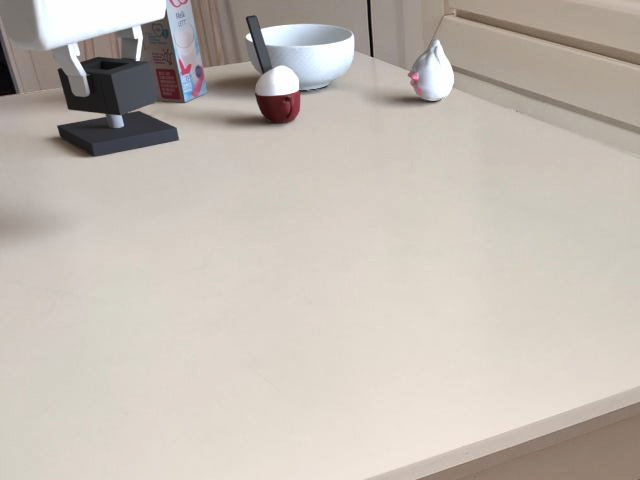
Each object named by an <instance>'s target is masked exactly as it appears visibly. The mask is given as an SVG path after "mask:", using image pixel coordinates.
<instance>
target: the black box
mask: <svg viewBox="0 0 640 480" xmlns="http://www.w3.org/2000/svg"><path fill="white" fill-rule="evenodd" d="M79 62H80V64H81V66H82V68H83V69H84V71H85V73H88V74H92V78H93V82H94V86H95V93H94V94H91V95H89V96H86V97H81V96H75V95H74V94H73V92H72V90H71V86H70V83H69V79H68V75H66V74H65V72H64V71H63V69H62V68H61V67H58V68H57V73H58V77H59V81H60V84H61V88H62V92H63V95H64V99H65V103H66V107H67V110H69V111H77V112H85V113H94V114H102V115H106V114H111V115H120V116H121V115H123V114H126V113H130V112H135V111H137V110H140V109H141V108H144V107H146V106H147V107H148V106H149V105H152V104H154V103H158V102H159V101H158V100H157V95H156V90H155V85H154V81H153V76H152V71H151V66H150V62H146V61H137V60H126V59H121V58H116V57H103V56H97V57H93V58H89V59H85V60H83V61H79Z"/></svg>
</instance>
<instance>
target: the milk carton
mask: <svg viewBox="0 0 640 480" xmlns="http://www.w3.org/2000/svg"><path fill="white" fill-rule="evenodd" d="M140 26H141V31H142V36H143V40H142V48H141V55H140V58H139V59H140V61H146V62H150V66H151V71H152V76H153V81H154V85H155V90H156V95H157V100H158V101H157V102H171V103H184V104H186V103H187V102H190V101H193V100H195V99H197V98H199V97H201V96H203V95H206V94H208V88H207V82H206V77H205V76H206V75H205V71H204V66H203V59H202V56H201V50H200V45H199V39H198V34H197V29H196V23H195V17H194V13H193V7H192V1H191V0H166V11H165V16H164V18H163V19H160V20H156V21H153V22H149V23H145V24H142V25H140Z"/></svg>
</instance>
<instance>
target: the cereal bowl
mask: <svg viewBox="0 0 640 480" xmlns="http://www.w3.org/2000/svg"><path fill="white" fill-rule="evenodd" d="M261 32H262V35H263V38H264V42H265V45H266V48H267V52H268V55H269V58H270V62H271V65H272V68H275V67H277V66H286V67H287V68H289V69H291V70H292V71H293V72H294V74H295V75H296V76H297V77H298V82H299V89H301V90H306V89H316V88H320V87H324V86H326V85H328V84H329V85H331V83H332V82H333V81H335V80H337V79H339V78H340V77H342V76H343V75H345V74H346V73H347V71H349V69H350V67H351V66H352V63H353V60H354V56H355V35H354V33H353V31H352V30H350V29H347V28H345V27H341V26H338V25H330V24H322V23H321V24H319V23H297V24H296V23H293V24H282V25H274V26H273V25H272V26H268V27H263V28H261ZM244 41H245V48H246V51H247V56H248V59H249V60H250V63H251V65H252V66H253V68H254V69H255V71H256V72H257V73H258V74H259V75H261V76H262V75H263V74H262V70H261V67H260V64H259V61H258V57H257V54H256V51H255V48H254V44H253V41H252V38H251V35H250V32H249V33H247V34H246V35H245V37H244ZM329 85H328V86H329ZM316 90H317V89H316Z"/></svg>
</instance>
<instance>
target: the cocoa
mask: <svg viewBox="0 0 640 480" xmlns="http://www.w3.org/2000/svg"><path fill="white" fill-rule="evenodd" d="M245 22H246V24H247V27H248V32H249V33H250V35H251V38H252V41H253V44H254V48H255V51H256V54H257V57H258V61H259V64H260V67H261V70H262V74H263V75H261V76H260V77H259V78H258V80H257V82H256V84H255V88H254V90H255V93H254V96H255V100H256V104H257V107H258V108H259V111H260V113H261V115H262V116H263V118H264V119H265V120H267V121H268V122H270V123H274V124H275V123H277V124H280V123H281V124H282V123H289V122H291V121H294V120H295V119H296V118H297V117H298V116H299V113H300V111H301V91H299V82H298V77H297V76H296V75H295V74H294V72H293V71H292V70H291V69H289V68H287V67H286V66H277V67H275V68H272V65H271V62H270V58H269V55H268V52H267V48H266V45H265V42H264V38H263V35H262V32H261V29H262V28H261V26H260V22H259V19H258V17H257V15H255V14H254V15H247V16H246V17H245Z"/></svg>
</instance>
